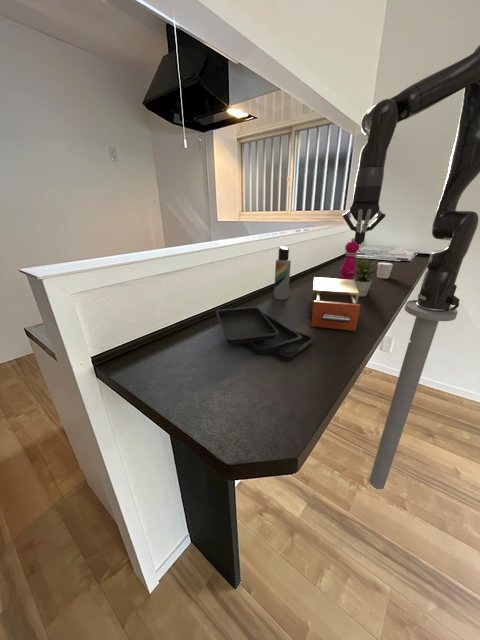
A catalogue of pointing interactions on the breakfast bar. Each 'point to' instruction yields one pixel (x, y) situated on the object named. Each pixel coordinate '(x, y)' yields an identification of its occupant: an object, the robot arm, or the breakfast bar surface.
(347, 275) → the pepper mill
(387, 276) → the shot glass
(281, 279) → the lotion bottle
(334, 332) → the breakfast bar surface
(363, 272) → the house plant
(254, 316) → the tray
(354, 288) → the small drawer box
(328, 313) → the wooden drawer unit
